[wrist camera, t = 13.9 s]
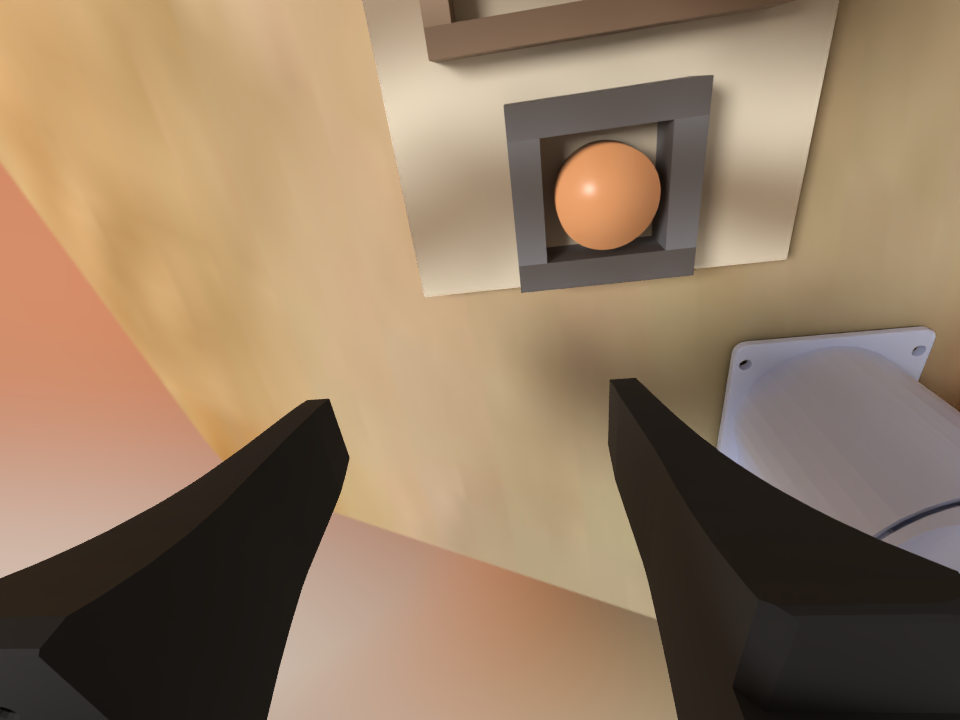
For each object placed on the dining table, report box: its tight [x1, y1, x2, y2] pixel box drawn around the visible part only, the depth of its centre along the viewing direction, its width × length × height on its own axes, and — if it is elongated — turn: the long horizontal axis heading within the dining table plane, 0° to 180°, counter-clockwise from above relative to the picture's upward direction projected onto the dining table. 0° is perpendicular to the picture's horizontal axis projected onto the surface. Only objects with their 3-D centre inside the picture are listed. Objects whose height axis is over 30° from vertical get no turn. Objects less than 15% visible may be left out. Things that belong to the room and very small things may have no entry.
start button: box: [553, 139, 661, 250], centre depth 15 cm, size 3×3×2 cm
